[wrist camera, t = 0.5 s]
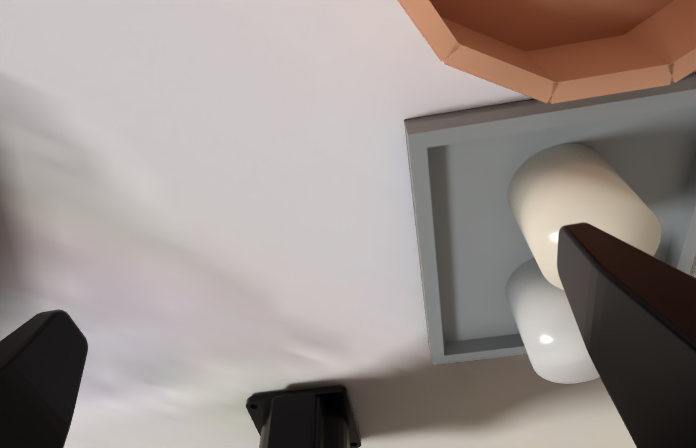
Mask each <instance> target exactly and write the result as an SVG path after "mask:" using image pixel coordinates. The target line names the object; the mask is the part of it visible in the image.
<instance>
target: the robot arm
mask: <svg viewBox="0 0 696 448" xmlns="http://www.w3.org/2000/svg"><path fill="white" fill-rule="evenodd" d="M557 270H558V274H559V278H560V280H561V283H562V286H563V288H564V291H565V294H566V296H567V299H568V302H569V304H570V307H571V310H572V312H573V315H574V318H575V320H576V323H577V325H578V328H579V331H580V333H581V336H582V339H583V341H584V344H585V346H586V349H587V351H588V354H589V356H590V358H591V360H592V362H593V364H594V366H595V368H596V370H597V372H598V374H599V376H600V378H601V380H602V382H603V383H604V385H605V387H606V389H607V391H608V393H609V395H610V397H611V399H612V401H613V403H614V405H615V406H616V408H617V410H618V412H619V414H620V416H621V418H622V420H623V422H624V424H625V426H626V427H627V429H628V431H629V433H630V435H631V437H632V439H633V441H634V443H635V445H636V447H637V448H696V278H695V277H693V276H691V275H689V274H687V273H685V272H683V271H681V270H679V269H677V268H675V267H673V266H671V265H669V264H667V263H665V262H663V261H661V260H659V259H657V258H655V257H653V256H652V255H650V254H648V253H646V252H644V251H642V250H640V249H638V248H636V247H634V246H632V245H630V244H628V243H626V242H624V241H622V240H620V239H618V238H616V237H614V236H612V235H610V234H608V233H606V232H604V231H603V230H601V229H599V228H597V227H595V226H593V225H591V224H588V223H585V222H582V223H576V224H570V225H564V226H562V227H561V228H560V230H559V233H558V250H557ZM87 352H88V344H87V340H86V338H85V336H84V335H83V333H82V332H81V331H80V329H79V328H78V327H77V325H76V324H75V323H74V321H73V320H72V319H71V317H70V316H69V315H68V313H67V312H65V311H63V310H53V311H47V312H42V313H39V314H37V315H35V316H34V317H33V318H31V319H30V320H29V321H27V322H26V323H24V324H23V325H22V326H20V327H19V328H18V329H16V330H15V331H14V332H12V333H11V334H9V335H8V336H7V337H5V338H4V339H3V340H1V341H0V448H63V447H64V444H65V441H66V438H67V435H68V432H69V428H70V425H71V421H72V417H73V413H74V409H75V404H76V400H77V396H78V391H79V387H80V383H81V378H82V374H83V370H84V365H85V361H86V356H87ZM246 408H247V410H248V412H249V414H250V416H251V418H252V420H253V422H254V424H255V426H256V428H257V430H258V432H259V434H260V436H261V437H260V445H259V448H358V447H360V446H361V437H360V433H359V430H358V426H357V422H356V419H355V415H354V412H353V408H352V404H351V401H350V397H349V394H348V390H347V389H346V388H345V387H342V386H338V387H329V388H321V389H312V390H304V391H295V392H286V393H278V394H269V395H260V396H252V397H249V398H248V399H247V403H246Z"/></svg>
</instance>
